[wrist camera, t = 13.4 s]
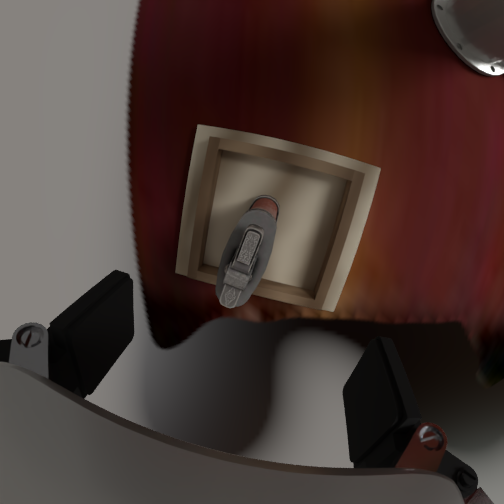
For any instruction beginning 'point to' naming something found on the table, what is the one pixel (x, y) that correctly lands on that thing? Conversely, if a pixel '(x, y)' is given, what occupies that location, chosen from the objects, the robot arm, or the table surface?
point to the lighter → (247, 252)
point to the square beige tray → (290, 215)
